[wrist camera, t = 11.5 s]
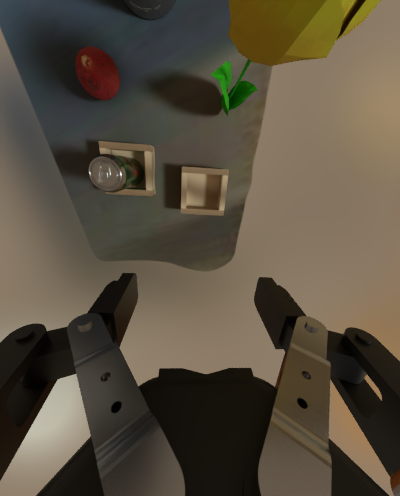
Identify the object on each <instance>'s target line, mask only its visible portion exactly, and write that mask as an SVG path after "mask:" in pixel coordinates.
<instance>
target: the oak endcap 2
mask: <svg viewBox="0 0 400 496" xmlns="http://www.w3.org/2000/svg"><path fill="white" fill-rule="evenodd" d="M228 172H229V170H225V169H211V168H197V167H182V186H181V214H200V215H219V216H224V207H225V198H226V190H227V181H228Z"/></svg>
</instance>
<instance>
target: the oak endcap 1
mask: <svg viewBox="0 0 400 496" xmlns="http://www.w3.org/2000/svg"><path fill="white" fill-rule="evenodd" d="M99 149H100V154H111V155H117V156H124V157H131V158H134V159H136V160H137V161H139V162H140V164H141V165H142V167H143V170H144V178H143V180H142V182H141V183H140V184H138V185H136V186H133V187H130V188H127V189H124V190H121V191H118V192H114V193H109V192H105V194H123V195H140V196H153V195H154V194H155V164H154V147H153V146H151V145H143V144H130V143H117V142H104V141H99Z"/></svg>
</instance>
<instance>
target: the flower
mask: <svg viewBox="0 0 400 496" xmlns="http://www.w3.org/2000/svg"><path fill="white" fill-rule="evenodd" d="M380 1H381V0H229V7H230V13H231V20H230V29H229V37H230V38H231V40H232V41H233V43H234V45H235V46H236V48H237V50H238V52H239V53H240V54H242V55H243V56H245V57H246V58H248V61H247V63H246V65H245V67H244V69H243V71H242V73H241V75H240V77H239V79H238V81H237V83H236V85H235V86H234V87H233V88H232V90H231V91H230V93H229V94H227V91H228V87H229V85H230V82H231V79H232V77H231V63H229V62H228V60H227V62H225V63H224V64H223V65H222V66H221V67H220V68H218V69H217V70H216V71H215V72H213V73H212V74H211V75H212V76H213V77H215V78H216V79H217V80H219V82H220V85H221V89H222V92H223V95H222V97H221V105H222V107H223V109H224V111H225V113H226V114H227V115H228V110H231V109H233V108H236V107H237V106H239V105H240V104H241V103H243V102H244V101H245V99H246V98H247V97H248V96H249V95H250V94H252V93H253V92H254V91H256V90H257V88H256V87H255V85H253V84H251V83H249V82H247V81H241V82H240V80H241V79H242V77H243V75H244V73H245V71H246V69H247V68H248V66H249V64H250V62H251V61H252V62H255V63H260V64H265V65H269V66H273V65H278V64H283V63H288V62H293V61H299V60H308V59H318V58H326V57H327V55H328V54H329V52H330V50H331V48H332V46H333V45H334V43H335V41H336V40H338V39H340V38H341V37H343V36H345V35H346V34H348V33H349V32H350V31H352V30H353V29H354V28H355V27H356V26H358V25H359V24H360V23H362V22H363V21H364V20H365V18H366V17H367V16H368V15H369V14H370V12H371V11H372V10H373V9H374V8H375V7H376V5H377V4H378V3H379V2H380ZM239 82H240V83H239Z"/></svg>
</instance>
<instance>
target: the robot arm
mask: <svg viewBox="0 0 400 496" xmlns="http://www.w3.org/2000/svg"><path fill="white" fill-rule="evenodd" d="M123 1H124V2H125V4H126V5H127V6H128V8H129V9H130V10H131V11H132V12H133V13H135V14H136V15H138V16H139V17H141V18H144V19H148V20H155V19H158V18H161V17H162V16H164V15H165V14H167V13H168V11H169V10H170V9H171V8H172V6H173V4H174V2H175V0H123ZM137 299H138V290H137V277H136V274H135V273H123V274H122V276H121V277H120V279H119V280H118V281H112V282H111V283H110V284H108V285H107V286H106V287H105V289H104V290H103V292H102V293H101V294H100V296H99V297H98V298H97V300H96V301H95V303H94V304H93V306H92V307H91V308H90V310H89V311H88V313H87V314H83V315H81V316H78V317H77V318H75V319H74V320H72V321H71V322H70V323H69V325H68V327H64V328H60V329H55V330H51V331H46V328H45V326H44V325H42V324H30V325H26V326H23V327H21V328H19V329H17V330H15V331H13V332H12V333H10V334H9V335H8V336H7V337H6V338H5V339H4V340H3V341H2V342H1V343H0V480H1V479H2V477H3V475H4V473H5V472H6V470H7V468H8V466H9V464H10V463H11V461H12V459H13V457H14V455H15V454H16V452H17V450H18V448H19V447H20V445H21V443H22V441H23V440H24V438H25V436H26V434H27V433H28V431H29V429H30V427H31V425H32V424H33V422H34V420H35V418H36V416H37V415H38V413H39V411H40V409H41V408H42V406H43V404H44V402H45V400H46V399H47V397H48V395H49V393H50V392H51V390H52V388H53V386H54V384H55V383H56V381H57V379H60V378H63V377H66V376H70V375H73V374H77V378H78V382H79V387H80V391H81V395H82V400H83V404H84V408H85V412H86V417H87V421H88V425H89V429H90V434H91V437H90V438H89V439H88V440H87V441H86V442H85V443H84V445H82V447H81V448H80V449H79V450H78V451H77V452H76V453H75V454H74V455H73V456H72V457H71V459H70V460H69V461H68V462H67V463H66V464H65V465H64V466H63V467H62V468H61V469H60V470H59V472H58V473H57V474H56V475H55V476H54V477H53V478H52V479H51V480H50V481H49V482H48V483H47V485H46V486H45V487H44V488H43V489H42V490H41V491H40V492H39V493H38V494H37V495H36V496H389V495H388V494H387V493H386V492H385V491H384V490H383V489H382V488H381V487H379V486H378V485H377V484H376V483H375V482H374V481H373V480H372V479H371V478H370V477H369V476H368V475H367V474H366V473H365V472H364V471H363V470H362V469H361V468H360V467H359V466H358V465H356V464H355V463H354V462H353V461H352V460H351V459H350V458H349V457H348V456H347V455H346V454H345V453H344V452H343V451H342V450H341V449H340V448H339V447H338V446H337V445H336V444H335V443H333V442H332V441H331V440H330V439H329V438H328V437H329V404H330V379H331V381H332V382H333V384H334V385H335V387H336V389H337V390H338V392H339V394H340V395H341V397H342V399H343V400H344V402H345V404H346V405H347V407H348V409H349V410H350V412H351V413H352V415H353V417H354V418H355V420H356V421H357V423H358V425H359V427H360V428H361V430H362V432H363V433H364V435H365V436H366V438H367V440H368V441H369V443H370V445H371V446H372V448H373V449H374V451H375V453H376V454H377V456H378V458H379V459H380V461H381V463H382V464H383V466H384V467H385V469H386V471H387V472H388V474H389V476H390V484H391V488H392V492H393V494H394V496H400V361H399V360H398V359H397V358H395V356H393V355H392V354H391V353H390V352H389V351H388V350H387V349H386V348H385V347H384V346H383V345H382V344H381V343H380V342H379V341H378V340H377V339H376V338H375V337H374V336H372V335H371V334H369V333H367V332H365V331H363V330H361V329H357V328H347V329H346V330H345V332H344V334H340V333H336V332H332V331H328V330H327V329H326V327H325V326H324V325H323V324H322V323H321V322H319V321H318V320H316V319H314V318H311V317H307V316H306V315H305V314H304V312H303V311H302V310H301V308H300V307H299V306H298V305H297V303H296V302H295V301H294V299H293V298H292V297H291V296H290V294H289V293H288V292H287V291H286V290H285V289H284V288H283V287H281V286H279V285H277V284H276V283H275V282H274V280H273V279H272V278H266V277H260V278H259V279H258V282H257V288H256V292H255V296H254V302H255V306H256V308H257V311H258V313H259V314H260V317H261V319H262V321H263V323H264V325H265V327H266V330H267V332H268V334H269V336H270V338H271V340H272V342H273V344H274V347H275V349H284V350H285V355H284V358H283V362H282V365H281V368H280V372H279V375H278V378H277V382H276V385H275V387H274V386H273V385H271V384H269V383H268V382H266V381H264V380H262V379H260V378H257V377H254V376H253V373H252V370H251V368H228V369H225V370H221V371H218V372H214V373H211V374H202V373H198V372H194V371H191V370H186V369H183V368H182V369H181V368H180V369H179V368H176V369H175V368H174V369H173V368H172V369H171V368H170V369H159V376H158V377H156V378H153V379H151V380H148V381H147V382H145V383H143V384H142V385H140V386H139V387H138V385H137V383H136V381H135V379H134V377H133V375H132V373H131V371H130V369H129V367H128V365H127V363H126V361H125V359H124V357H123V354H122V352H121V350H120V348H119V347H120V344H121V342H122V339H123V337H124V334H125V332H126V329H127V326H128V324H129V321H130V319H131V316H132V314H133V311H134V309H135V306H136V304H137ZM366 375H368V376H369V377H370V378H371V380H372V381H373V382H374V383H375V385H376V386H377V387H378V388H379V390H380V392H381V395H382V401H381V400H380V399H379V397H378V396H377V395H376V393H375V392H374V391H373V389H372V388H371V387H370V386H369V384H368V383H367V382H366V380H365V379H364V378H365V376H366Z"/></svg>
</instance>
